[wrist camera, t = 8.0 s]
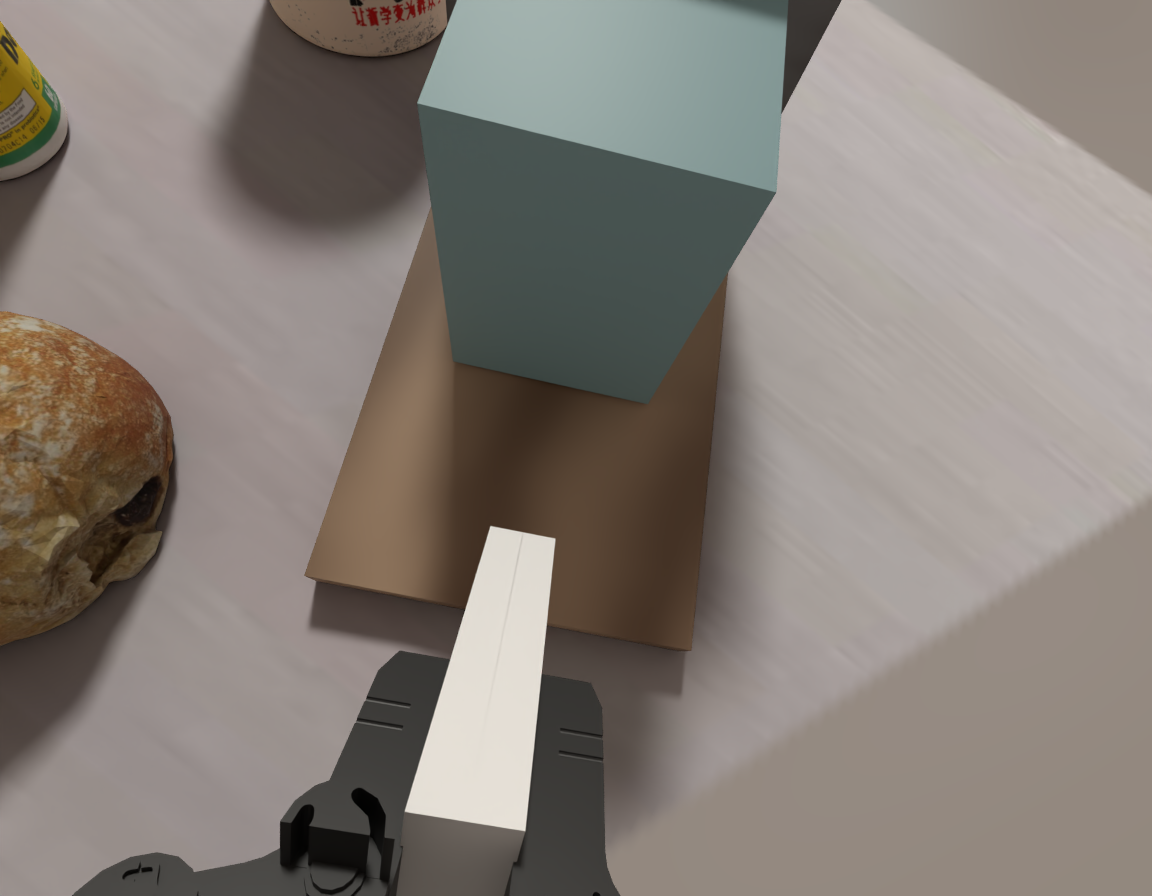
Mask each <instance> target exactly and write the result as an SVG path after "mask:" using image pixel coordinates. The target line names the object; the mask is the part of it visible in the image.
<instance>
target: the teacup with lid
mask: <svg viewBox="0 0 1152 896" xmlns="http://www.w3.org/2000/svg"><path fill="white" fill-rule="evenodd" d="M269 1H270V3H271V5H272V7H273V9H274V10H275V12H276V13H277V15H278V16H279V17H280V19H281V20H282V21H283V22H284V23H285V24H286V25H287V26H288V27H289V28H290V29H291V30H293V31H294V32H295V33H297V34H298V35H299V36H301V37H303V38H304V39H306V40H307V41H309V42H311V43H313V44H315V45H318V46H320V47H322V48H325V49H328V50H331V51H335V52H339V53H343V54H349V55H356V56H388V55H394V54H399V53H403V52H407V51H410V50H413V49H415V48H418V47H420V46H422V45H424V44H426V43H428V42H429V41H431V40H432V39H434V38H435V37H436V36H438V35H439V34H440V33H441V32H442V31H443V30H444V29H445V27H446V26H447V13H446V0H269Z"/></svg>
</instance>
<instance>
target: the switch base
mask: <svg viewBox="0 0 1152 896" xmlns="http://www.w3.org/2000/svg"><path fill="white" fill-rule="evenodd" d="M456 2H457V0H446V13H447V25H448V22H449V20H450V17H451V15H452V12H453V9H454V7H455V4H456ZM840 2H841V0H788V15H787V31H786V47H785V63H784V79H783V95H782V110H781V114H782V112H783V110H784V108H785V106H786V104H787V102H788V101H789V99H790V97H791V95H792V93H793V91H794V89H795V87H796V85H797V84H798V82H799V80H800V78H801V76H802V74H803V72H804V70H805V68H806V66H807V65H808V63H809V61H810V59H811V57H812V55H813V53H814V51H815V49H816V48H817V46H818V44H819V42H820V40H821V38H822V36H823V34H824V32H825V31H826V29H827V27H828V25H829V23H830V21H831V19H832V17H833V15H834V13H835V12H836V10H837V8H838V6H839V4H840ZM727 276H728V273H727V274H726V276H725V278H724V279H723V281H722V283H721V284H720V286H719V288H718V289H717V291H716V293H715V294H714V296H713V298H712V299H711V301H710V303H709V304H708V306H707V307H706V309H705V311H704V312H703V314H702V316H701V317H700V319H699V321H698V322H697V324H696V326H695V327H694V329H693V331H692V332H691V334H690V336H689V337H688V339H687V340H686V342H685V344H684V345H683V347H682V349H681V350H680V352H679V354H678V355H677V357H676V359H675V360H674V362H673V364H672V365H671V367H670V369H669V370H668V372H667V373H666V375H665V377H664V378H663V380H662V382H661V383H660V385H659V387H658V388H657V390H656V392H655V393H654V395H653V397H652V398H651V400H650V402H649V403H648V404H644V403H640V402H635V401H631V400H626V399H622V398H617V397H613V396H608V395H604V394H599V393H594V392H590V391H585V390H581V389H576V388H572V387H567V386H563V385H558V384H554V383H549V382H545V381H540V380H535V379H531V378H526V377H522V376H517V375H513V374H508V373H504V372H499V371H495V370H490V369H486V368H481V367H476V366H472V365H467V364H463V363H458V362H454V361H453V358H452V351H451V343H450V336H449V329H448V322H447V315H446V307H445V300H444V293H443V286H442V279H441V271H440V264H439V257H438V250H437V243H436V235H435V228H434V221H433V214H432V207H431V208H430V211H429V214H428V217H427V220H426V223H425V226H424V229H423V232H422V235H421V237H420V240H419V243H418V246H417V249H416V252H415V255H414V258H413V261H412V264H411V267H410V269H409V272H408V275H407V278H406V281H405V284H404V287H403V290H402V293H401V296H400V299H399V301H398V304H397V307H396V310H395V313H394V316H393V319H392V322H391V325H390V328H389V331H388V333H387V336H386V339H385V342H384V345H383V348H382V351H381V354H380V357H379V360H378V363H377V365H376V368H375V371H374V374H373V377H372V380H371V383H370V386H369V389H368V392H367V395H366V398H365V400H364V403H363V406H362V409H361V412H360V415H359V418H358V421H357V424H356V427H355V430H354V432H353V435H352V438H351V441H350V444H349V447H348V450H347V453H346V456H345V459H344V462H343V464H342V467H341V470H340V473H339V476H338V479H337V482H336V485H335V488H334V491H333V494H332V496H331V499H330V502H329V505H328V508H327V511H326V514H325V517H324V520H323V523H322V526H321V528H320V531H319V534H318V537H317V540H316V543H315V546H314V549H313V552H312V555H311V558H310V560H309V563H308V566H307V569H306V572H305V575H304V576H306V577H308V578H311V579H313V580H315V581H320V582H325V583H330V584H335V585H340V586H346V587H351V588H356V589H361V590H366V591H371V592H377V593H382V594H387V595H392V596H397V597H403V598H408V599H413V600H418V601H423V602H428V603H434V604H439V605H444V606H449V607H454V608H459V609H466V606H467V603H468V599H469V596H470V593H471V589H472V586H473V583H474V579H475V576H476V573H477V570H478V566H479V563H480V560H481V556H482V553H483V550H484V546H485V543H486V540H487V536H488V533H489V530H490V526H493V527H498V528H503V529H508V530H513V531H519V532H524V533H529V534H534V535H539V536H544V537H549V538H555V548H554V558H553V567H552V577H551V587H550V596H549V606H548V616H547V626H553V627H558V628H563V629H568V630H573V631H578V632H584V633H589V634H594V635H599V636H604V637H610V638H615V639H620V640H625V641H630V642H635V643H641V644H646V645H651V646H656V647H661V648H666V649H672V650H677V651H691V648H692V638H693V627H694V617H695V607H696V596H697V586H698V576H699V565H700V555H701V545H702V534H703V524H704V514H705V503H706V493H707V482H708V472H709V462H710V451H711V441H712V431H713V420H714V410H715V400H716V389H717V379H718V369H719V358H720V348H721V338H722V327H723V317H724V307H725V296H726V286H727Z"/></svg>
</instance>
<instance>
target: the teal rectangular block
mask: <svg viewBox="0 0 1152 896" xmlns="http://www.w3.org/2000/svg"><path fill="white" fill-rule="evenodd" d="M787 15H788V0H457V2H456V4H455V7H454V9H453V12H452V15H451V17H450V20H449V22H448V25H447V27H446V30H445V33H444V35H443V38H442V40H441V43H440V45H439V48H438V51H437V53H436V56H435V58H434V61H433V64H432V66H431V69H430V71H429V74H428V76H427V79H426V82H425V84H424V87H423V89H422V92H421V95H420V97H419V100H418V102H417V106H418V113H419V120H420V127H421V135H422V142H423V149H424V156H425V163H426V171H427V178H428V185H429V192H430V199H431V207H432V214H433V221H434V228H435V235H436V243H437V250H438V257H439V264H440V271H441V279H442V286H443V293H444V300H445V307H446V315H447V322H448V329H449V336H450V343H451V351H452V358H453V361H454V362H458V363H463V364H467V365H472V366H476V367H481V368H486V369H490V370H495V371H499V372H504V373H508V374H513V375H517V376H522V377H526V378H531V379H535V380H540V381H545V382H549V383H554V384H558V385H563V386H567V387H572V388H576V389H581V390H585V391H590V392H594V393H599V394H604V395H608V396H613V397H617V398H622V399H626V400H631V401H635V402H640V403H644V404H648V403H649V402H650V400H651V398H652V397H653V395H654V393H655V392H656V390H657V388H658V387H659V385H660V383H661V382H662V380H663V378H664V377H665V375H666V373H667V372H668V370H669V369H670V367H671V365H672V364H673V362H674V360H675V359H676V357H677V355H678V354H679V352H680V350H681V349H682V347H683V345H684V344H685V342H686V340H687V339H688V337H689V336H690V334H691V332H692V331H693V329H694V327H695V326H696V324H697V322H698V321H699V319H700V317H701V316H702V314H703V312H704V311H705V309H706V307H707V306H708V304H709V303H710V301H711V299H712V298H713V296H714V294H715V293H716V291H717V289H718V288H719V286H720V284H721V283H722V281H723V279H724V278H725V276H726V274H727V273H728V271H729V270H730V268H731V266H732V265H733V263H734V261H735V260H736V258H737V256H738V255H739V253H740V251H741V250H742V248H743V246H744V245H745V243H746V241H747V240H748V238H749V237H750V235H751V233H752V232H753V230H754V228H755V227H756V225H757V223H758V222H759V220H760V218H761V217H762V215H763V213H764V212H765V210H766V208H767V207H768V205H769V204H770V202H771V200H772V199H773V197H774V195H775V194H776V190H777V174H778V158H779V142H780V126H781V110H782V95H783V79H784V63H785V47H786V31H787Z"/></svg>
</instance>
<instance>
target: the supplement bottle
mask: <svg viewBox="0 0 1152 896" xmlns="http://www.w3.org/2000/svg"><path fill="white" fill-rule="evenodd" d="M67 127H68V119H67V111H66V108H65V106H64V104H63V103H62V101H61V99H60V98H59V97H58V95H57V94H56V93H55V91H54V90H53V89H52V88H51V86H50V85H49V83H48V82H47V81H46V80H45V78H44V77H43V76H42V75H41V73H40V72H39V70H38V69H37V68H36V67H35V65H34V64H33V63H32V62H31V60H30V59H29V57H28V56H27V55H26V54H25V52H24V51H23V50H22V49H21V47H20V46H19V45H18V43H17V42H16V41H15V40H14V38H13V37H12V36H11V34H10V33H9V32H8V30H7V29H6V28H5V27H4V25H3V24H2V23H1V21H0V181H3V180H8V179H13V178H17V177H20V176H22V175H25V174H27V173H29V172H31V171H33V170H35V169H37V168H39V167H40V166H42V165H43V164H45V163H46V162H47V161H48V160H49V159H50V158H51V157H53V156H54V155H55V154H56V152H57V151H58V150H59V149H60V147H61V146H62V144H63V142H64V140H65V137H66V134H67Z"/></svg>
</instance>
